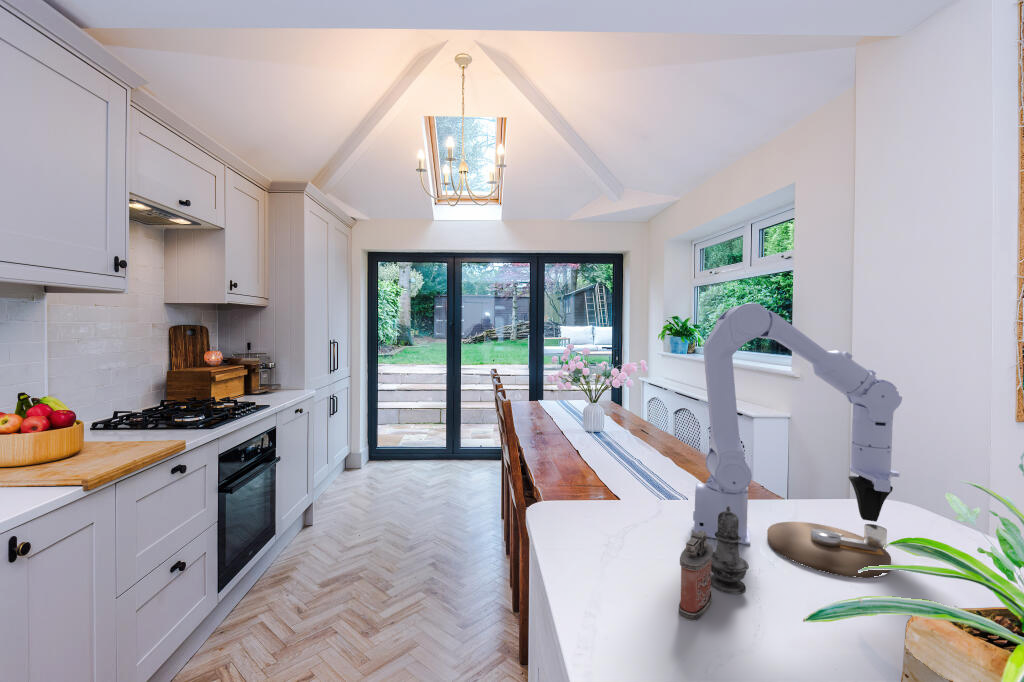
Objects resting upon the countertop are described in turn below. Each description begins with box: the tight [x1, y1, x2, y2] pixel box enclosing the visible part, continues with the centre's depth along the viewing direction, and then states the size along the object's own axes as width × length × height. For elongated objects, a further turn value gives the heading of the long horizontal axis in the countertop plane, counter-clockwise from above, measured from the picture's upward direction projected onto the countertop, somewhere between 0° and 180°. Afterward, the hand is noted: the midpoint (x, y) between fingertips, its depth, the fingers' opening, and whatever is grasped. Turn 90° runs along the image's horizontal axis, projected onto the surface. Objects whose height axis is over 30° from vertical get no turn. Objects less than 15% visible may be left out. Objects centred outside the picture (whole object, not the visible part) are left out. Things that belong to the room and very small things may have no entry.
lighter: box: [678, 531, 714, 621], centre depth 64 cm, size 8×3×10 cm, turn 141°
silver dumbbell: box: [811, 523, 888, 551], centre depth 79 cm, size 11×4×4 cm, turn 61°
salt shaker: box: [711, 506, 750, 595], centre depth 69 cm, size 6×6×12 cm
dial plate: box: [766, 521, 892, 579], centre depth 81 cm, size 18×18×2 cm
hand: (868, 519), depth 82 cm, fingers closed
